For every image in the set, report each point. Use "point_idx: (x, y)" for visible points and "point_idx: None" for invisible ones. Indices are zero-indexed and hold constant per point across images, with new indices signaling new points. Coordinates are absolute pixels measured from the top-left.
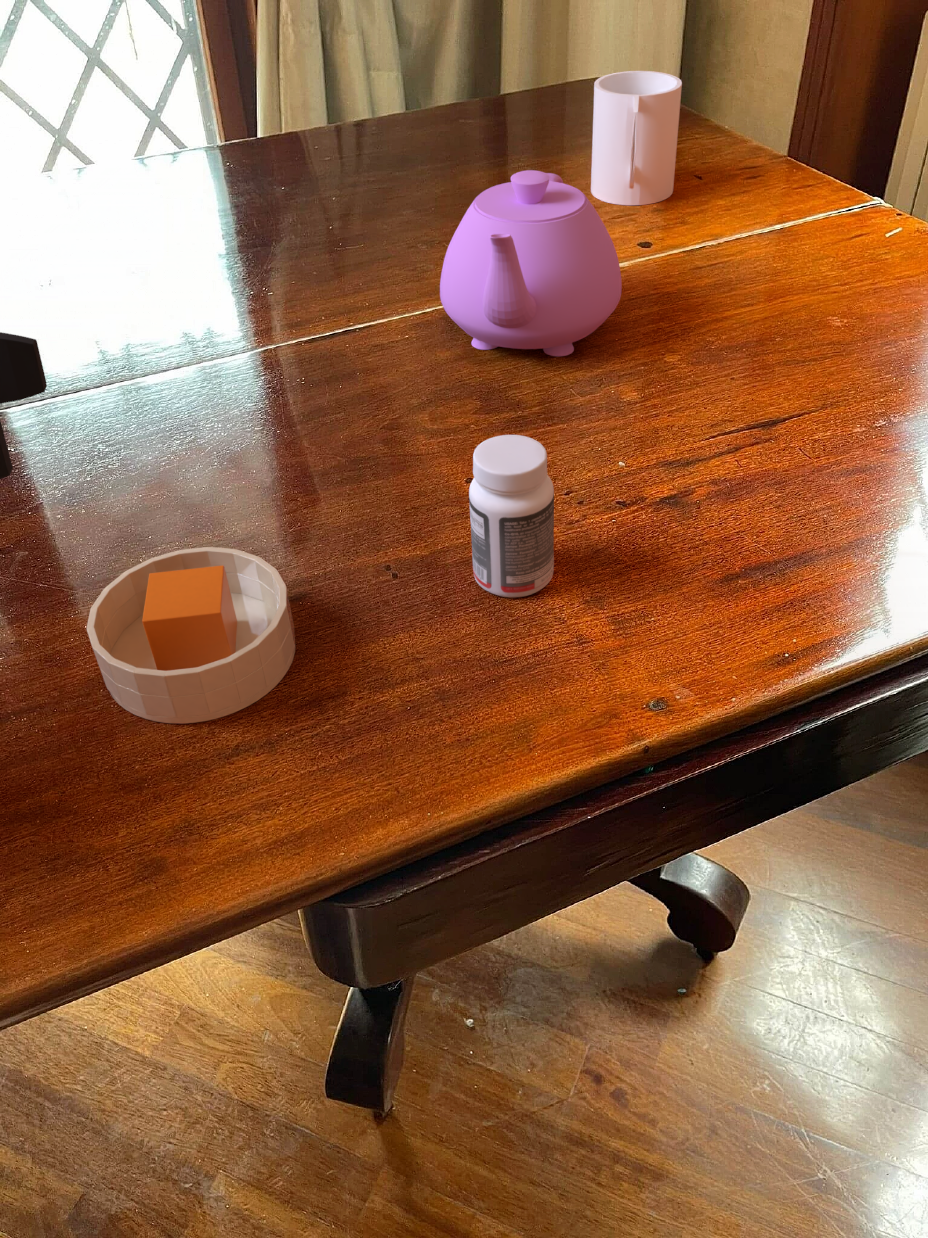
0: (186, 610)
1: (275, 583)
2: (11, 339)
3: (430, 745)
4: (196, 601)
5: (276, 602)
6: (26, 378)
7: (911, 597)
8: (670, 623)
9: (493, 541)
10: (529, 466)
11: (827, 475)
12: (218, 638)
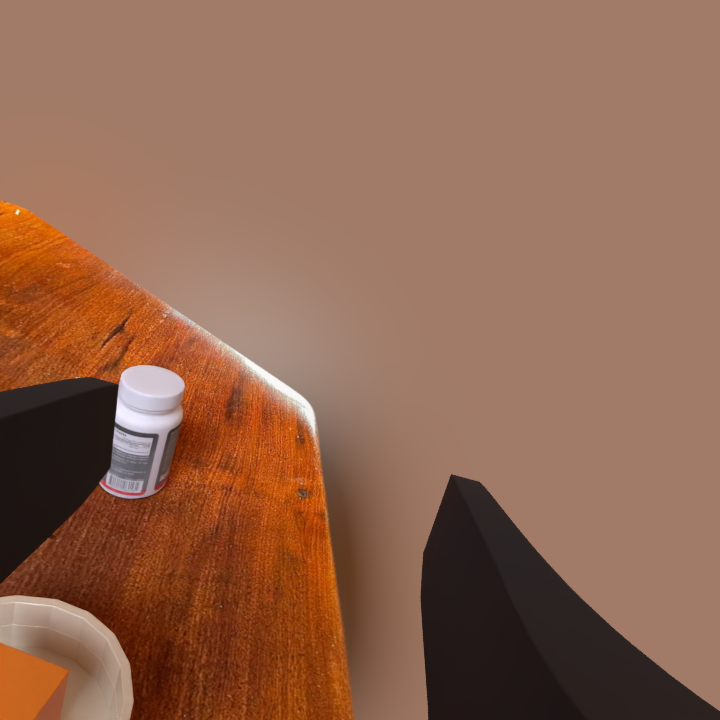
0: (27, 708)
1: (33, 608)
2: (92, 388)
3: (269, 612)
4: (21, 689)
5: (10, 634)
6: (95, 456)
7: (289, 388)
8: (244, 451)
9: (158, 453)
10: (179, 383)
11: (184, 347)
12: (57, 706)
